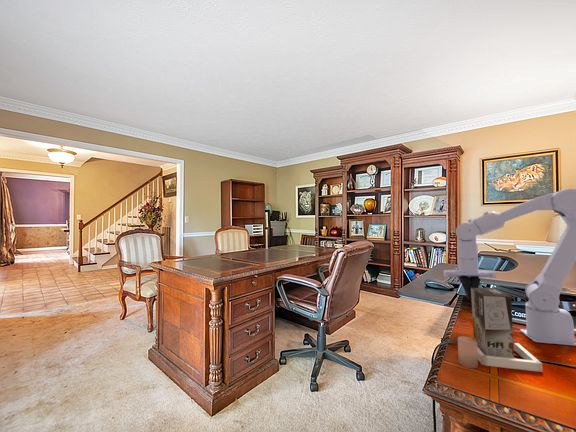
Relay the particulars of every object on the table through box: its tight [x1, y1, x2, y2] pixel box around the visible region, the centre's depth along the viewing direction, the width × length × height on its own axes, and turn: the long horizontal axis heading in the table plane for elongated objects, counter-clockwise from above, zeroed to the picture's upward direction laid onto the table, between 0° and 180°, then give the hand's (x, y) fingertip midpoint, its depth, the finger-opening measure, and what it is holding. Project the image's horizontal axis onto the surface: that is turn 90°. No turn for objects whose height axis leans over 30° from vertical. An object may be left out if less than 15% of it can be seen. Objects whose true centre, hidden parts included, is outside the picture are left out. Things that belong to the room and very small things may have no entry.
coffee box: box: [470, 287, 515, 359], centre depth 71 cm, size 9×6×16 cm
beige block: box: [457, 335, 479, 369], centre depth 65 cm, size 4×4×6 cm
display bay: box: [477, 342, 543, 373], centre depth 67 cm, size 12×10×2 cm
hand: (469, 298), depth 87 cm, fingers closed
